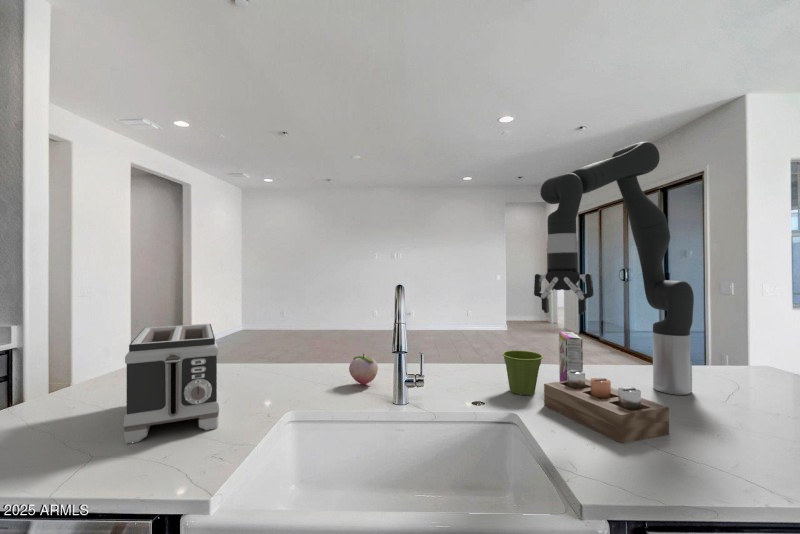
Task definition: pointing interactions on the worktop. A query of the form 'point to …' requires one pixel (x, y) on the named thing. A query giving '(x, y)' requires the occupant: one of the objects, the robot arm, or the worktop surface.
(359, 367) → the decorative fruit
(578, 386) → the metal knob
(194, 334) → the toaster
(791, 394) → the worktop surface
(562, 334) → the candy bar box
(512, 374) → the plant pot
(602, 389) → the terracotta knob
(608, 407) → the console
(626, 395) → the metal knob
